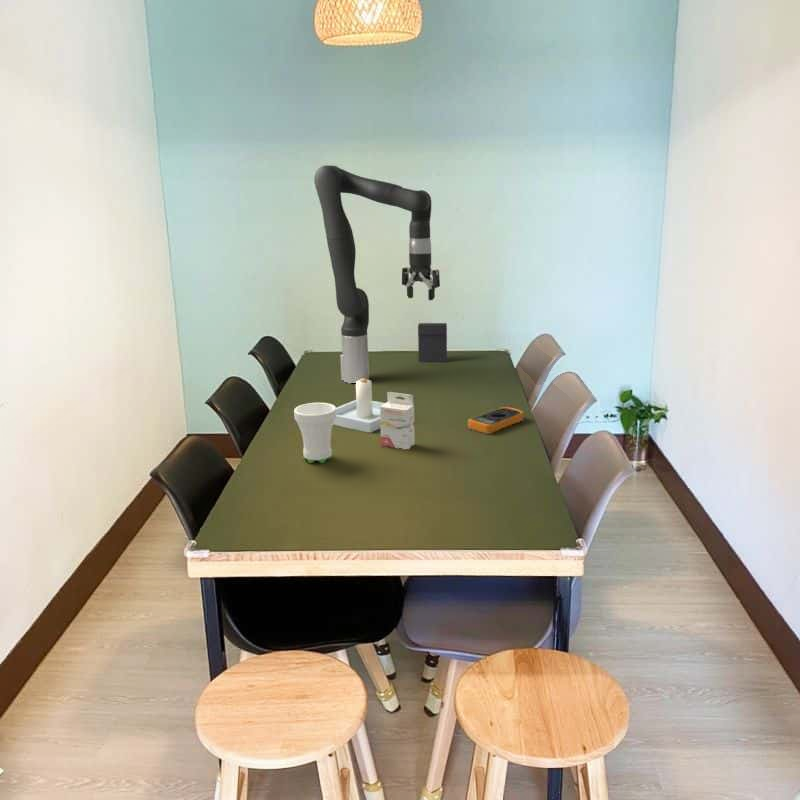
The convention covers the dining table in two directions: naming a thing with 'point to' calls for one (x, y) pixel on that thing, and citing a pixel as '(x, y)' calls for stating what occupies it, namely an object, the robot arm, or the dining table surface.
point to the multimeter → (495, 420)
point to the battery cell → (364, 398)
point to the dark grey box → (432, 342)
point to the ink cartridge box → (397, 421)
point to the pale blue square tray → (349, 419)
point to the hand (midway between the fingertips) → (420, 298)
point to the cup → (316, 429)
